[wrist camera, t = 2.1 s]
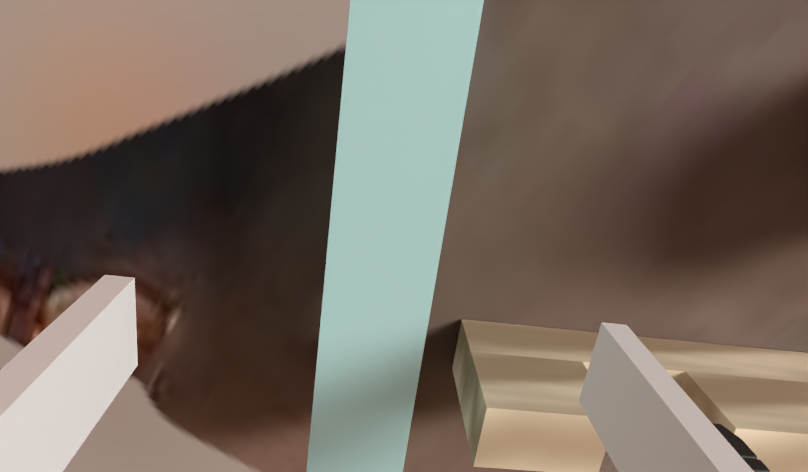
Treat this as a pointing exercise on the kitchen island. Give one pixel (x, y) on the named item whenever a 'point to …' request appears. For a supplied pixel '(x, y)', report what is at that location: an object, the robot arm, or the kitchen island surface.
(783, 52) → the kitchen island surface
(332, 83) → the kitchen island surface
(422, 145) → the teal board
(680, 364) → the birch rail
